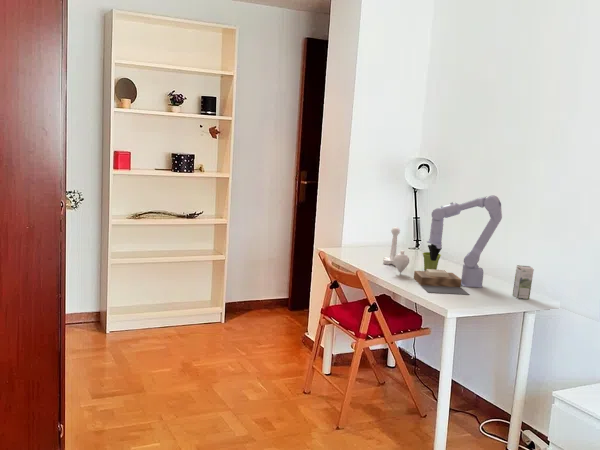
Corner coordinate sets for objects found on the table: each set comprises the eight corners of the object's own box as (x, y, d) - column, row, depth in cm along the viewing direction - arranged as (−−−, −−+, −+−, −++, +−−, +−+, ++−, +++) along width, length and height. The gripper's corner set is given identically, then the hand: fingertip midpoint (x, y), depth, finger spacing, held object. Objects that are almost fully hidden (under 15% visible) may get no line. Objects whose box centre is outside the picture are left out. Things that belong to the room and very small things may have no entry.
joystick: (401, 266, 329) (405, 228, 325) (389, 266, 325) (393, 228, 322) (389, 261, 338) (393, 225, 335) (378, 261, 335) (381, 225, 332)
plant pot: (427, 272, 318) (429, 256, 316) (417, 268, 326) (419, 252, 325) (442, 272, 321) (444, 256, 320) (432, 268, 330) (434, 252, 328)
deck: (451, 280, 304) (452, 272, 304) (460, 287, 292) (461, 279, 291) (413, 278, 303) (414, 270, 302) (420, 285, 290) (421, 277, 289)
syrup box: (524, 296, 285) (528, 265, 283) (529, 299, 279) (534, 268, 277) (512, 295, 285) (516, 264, 282) (517, 299, 279) (521, 267, 277)
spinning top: (396, 276, 304) (398, 252, 302) (389, 272, 312) (392, 249, 310) (410, 276, 307) (413, 252, 305) (403, 272, 314) (406, 249, 312)
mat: (460, 287, 292) (460, 287, 292) (469, 294, 280) (469, 294, 280) (420, 285, 290) (420, 285, 290) (428, 292, 278) (428, 292, 278)
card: (444, 274, 299) (444, 270, 299) (448, 277, 293) (448, 273, 293) (425, 273, 298) (426, 269, 298) (429, 276, 293) (429, 272, 292)
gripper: (424, 229, 308) (421, 256, 310) (432, 235, 293) (429, 263, 295) (438, 230, 308) (435, 257, 310) (447, 235, 294) (443, 264, 296)
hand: (433, 260), depth 303 cm, fingers closed
